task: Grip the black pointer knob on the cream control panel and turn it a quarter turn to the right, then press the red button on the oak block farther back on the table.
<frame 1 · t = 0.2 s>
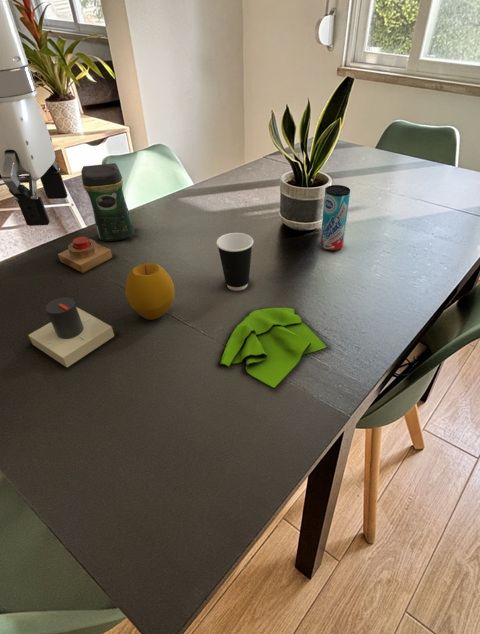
hand: (49, 210, 67), 26 cm above the table, tool pointing down, fingers open, 9 cm apart
button: (81, 243, 104), point 4 cm above the table, slide at 0.1 cm
panel: (74, 340, 84), on the table
beverage can: (331, 247, 111), on the table
cloth: (268, 345, 83), on the table
button block: (86, 259, 107), on the table
coffee jar: (117, 236, 117), on the table
apple: (155, 315, 90), on the table
knob: (64, 317, 80), point 6 cm above the table, hinge at 0.0°
dixie cup: (237, 285, 98), on the table
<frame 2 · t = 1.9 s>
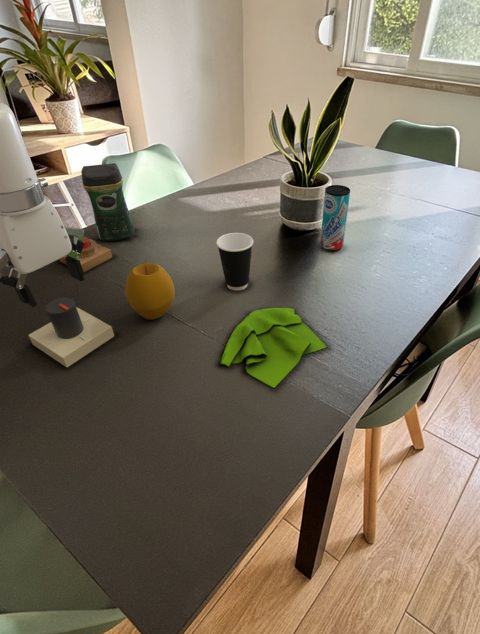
hand: (55, 290, 76), 12 cm above the table, tool pointing down, fingers open, 9 cm apart
nothing on the table moved.
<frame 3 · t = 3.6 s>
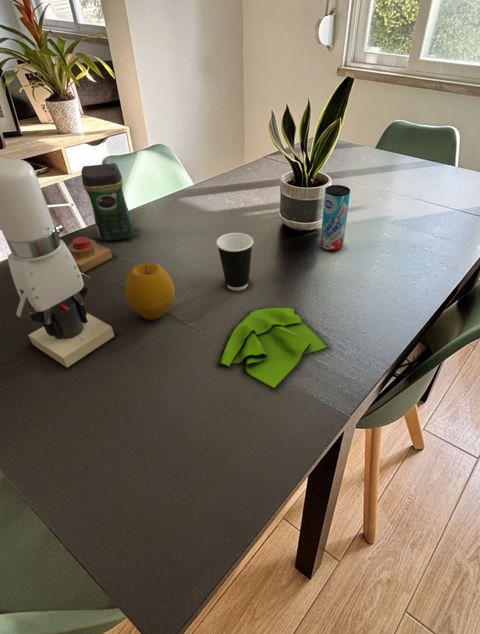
hand: (68, 327, 82), 3 cm above the table, tool pointing down, fingers closed on knob, 5 cm apart
knob: (64, 317, 80), point 6 cm above the table, hinge at 0.0°, touching gripper
everything else where it was.
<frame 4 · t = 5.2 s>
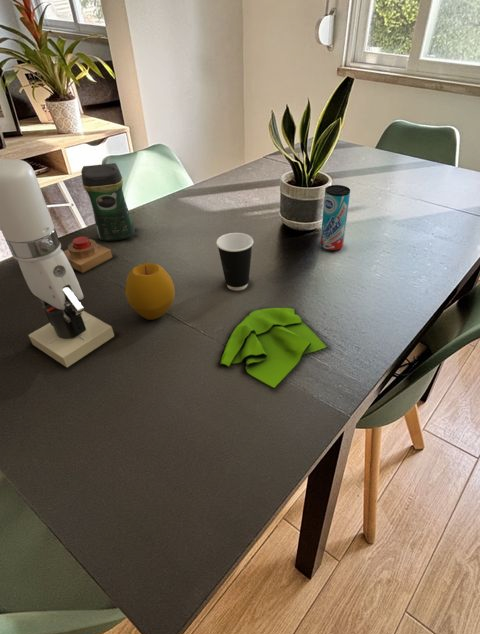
hand: (68, 327, 82), 3 cm above the table, tool pointing down, fingers closed on knob, 5 cm apart
knob: (64, 317, 80), point 6 cm above the table, hinge at -91.2°, touching gripper
everything else where it was.
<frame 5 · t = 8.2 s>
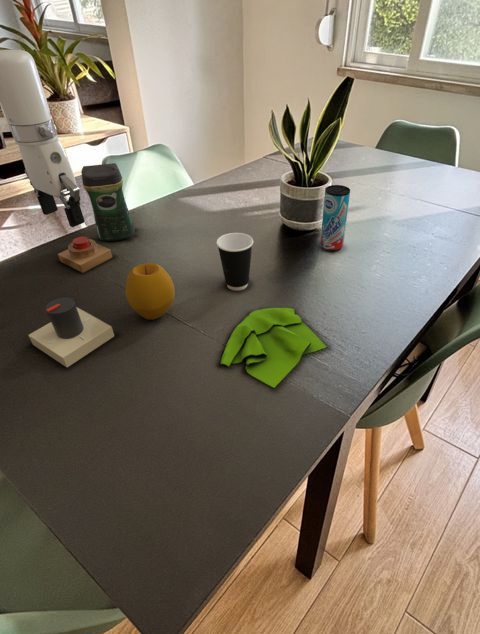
hand: (64, 218, 91), 15 cm above the table, tool pointing down, fingers open, 9 cm apart
knob: (64, 317, 80), point 6 cm above the table, hinge at -92.1°
everything else where it was.
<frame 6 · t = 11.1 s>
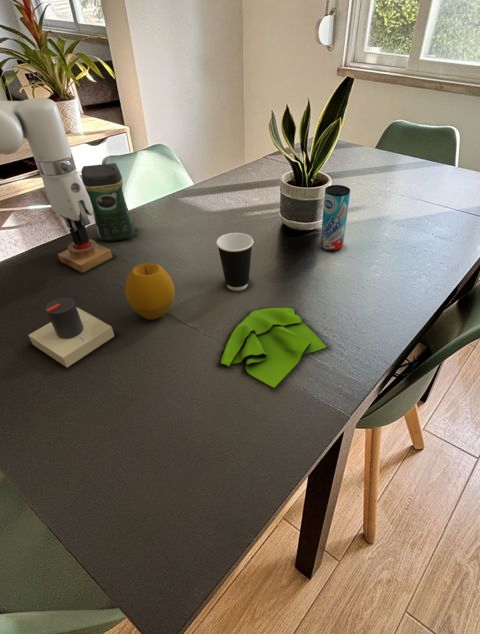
hand: (82, 242, 104), 5 cm above the table, tool pointing down, fingers closed
button: (82, 246, 104), point 4 cm above the table, slide at -0.6 cm, touching gripper
everything else where it was.
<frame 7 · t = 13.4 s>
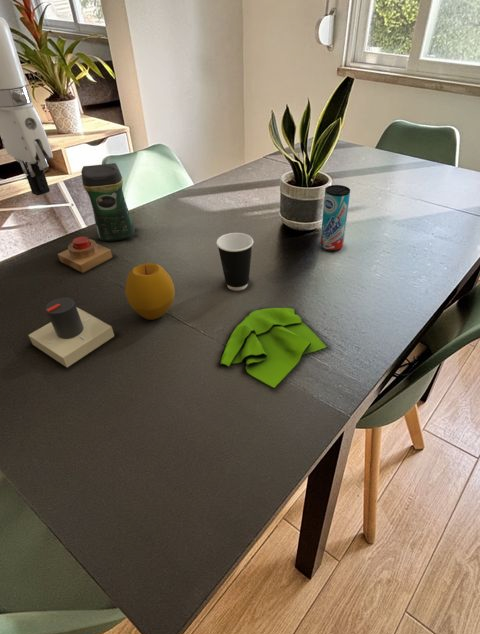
hand: (41, 192, 93), 18 cm above the table, tool pointing down, fingers closed
button: (81, 243, 104), point 4 cm above the table, slide at 0.1 cm
everything else where it was.
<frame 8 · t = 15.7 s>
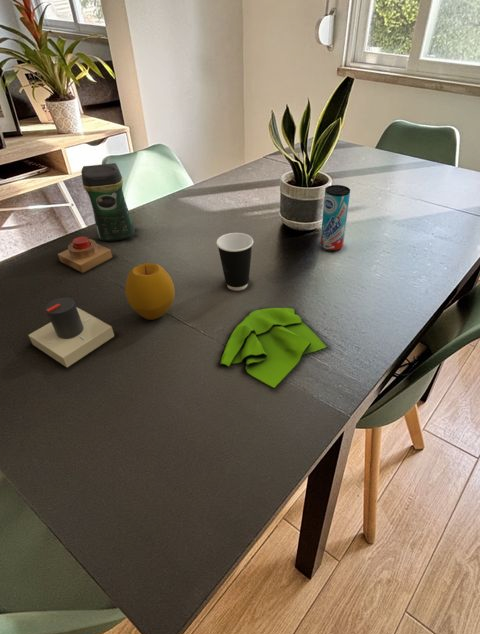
nothing on the table moved.
at the end: knob at -92° (first picture: +0°); button pushed in 1.1 cm at the most during the clip, back to where it started at the end; button slide at 0.1 cm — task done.
